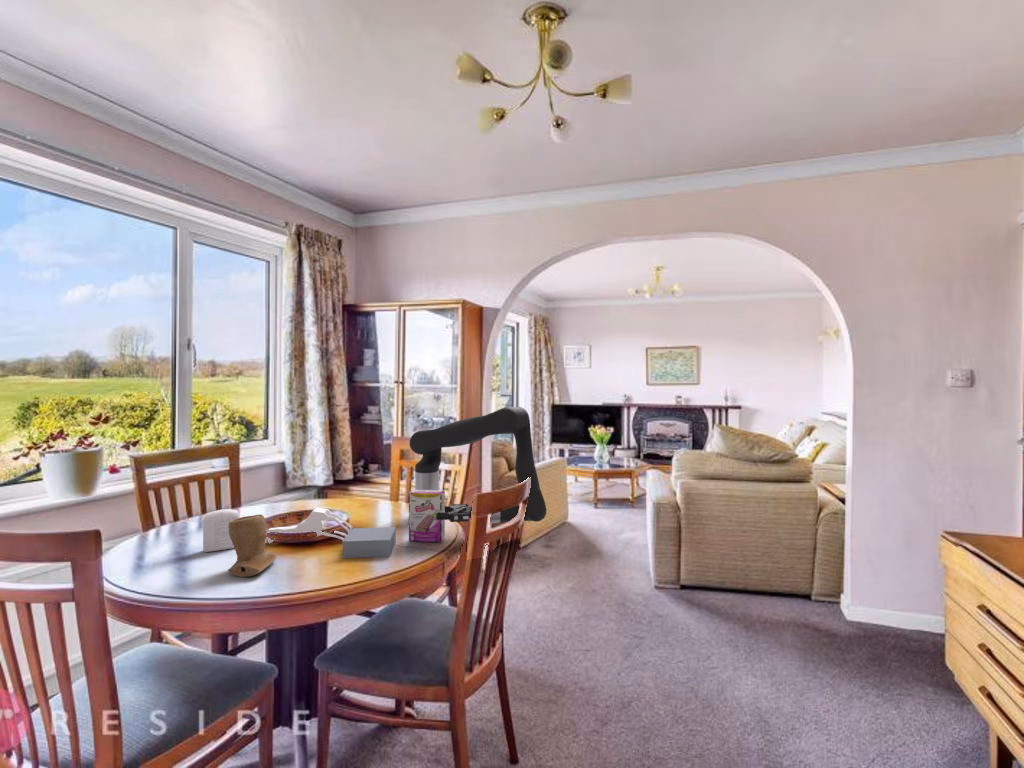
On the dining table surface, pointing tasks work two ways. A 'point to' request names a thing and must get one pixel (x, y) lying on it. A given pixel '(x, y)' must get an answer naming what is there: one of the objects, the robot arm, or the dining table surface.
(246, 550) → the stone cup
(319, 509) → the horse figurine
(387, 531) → the slate block
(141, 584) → the dining table surface
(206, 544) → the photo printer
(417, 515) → the candy bar box
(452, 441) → the robot arm
